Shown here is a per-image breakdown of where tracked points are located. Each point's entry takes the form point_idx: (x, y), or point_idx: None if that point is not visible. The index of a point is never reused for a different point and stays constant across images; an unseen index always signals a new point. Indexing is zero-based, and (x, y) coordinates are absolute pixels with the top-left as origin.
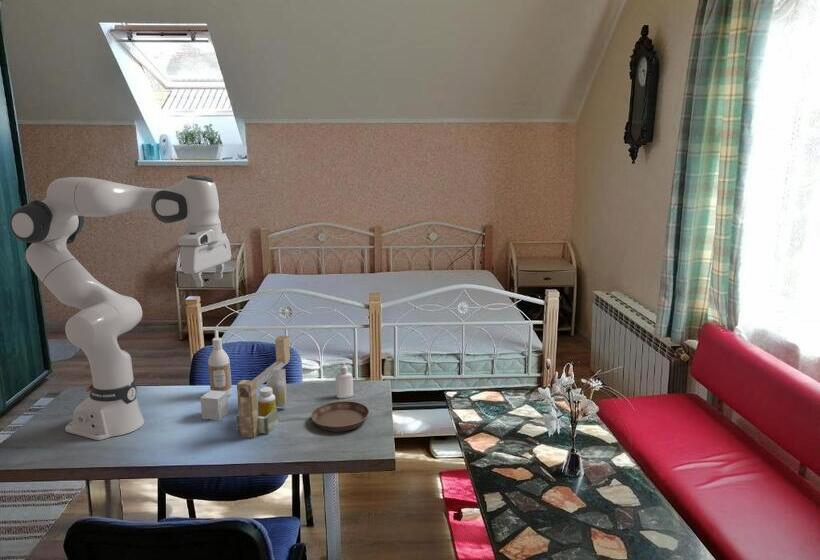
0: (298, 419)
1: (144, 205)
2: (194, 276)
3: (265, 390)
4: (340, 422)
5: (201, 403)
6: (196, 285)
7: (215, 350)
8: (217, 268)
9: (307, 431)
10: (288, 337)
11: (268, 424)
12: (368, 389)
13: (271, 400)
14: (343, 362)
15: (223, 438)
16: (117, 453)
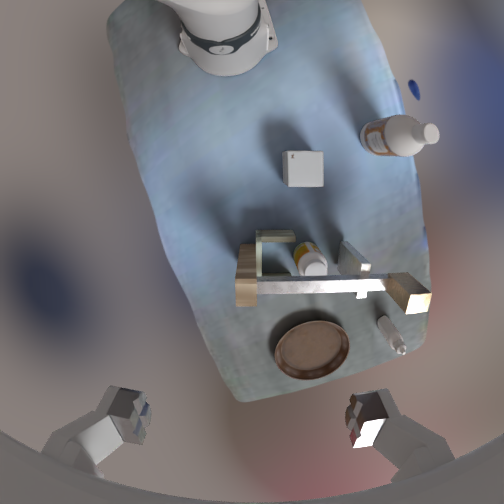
0: (309, 297)
1: None
2: (64, 438)
3: (310, 275)
4: (304, 349)
5: (285, 153)
6: (108, 390)
7: (410, 132)
8: (408, 443)
9: (275, 321)
10: (424, 310)
11: None
12: None
13: None
14: (405, 352)
15: (228, 221)
16: (152, 101)
